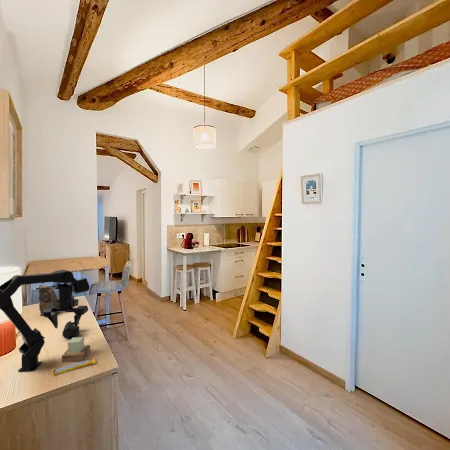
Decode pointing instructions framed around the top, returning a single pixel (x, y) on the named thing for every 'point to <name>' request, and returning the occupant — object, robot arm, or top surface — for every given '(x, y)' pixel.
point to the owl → (47, 298)
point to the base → (76, 355)
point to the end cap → (70, 330)
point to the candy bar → (73, 367)
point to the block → (76, 345)
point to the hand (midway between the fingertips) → (66, 327)
